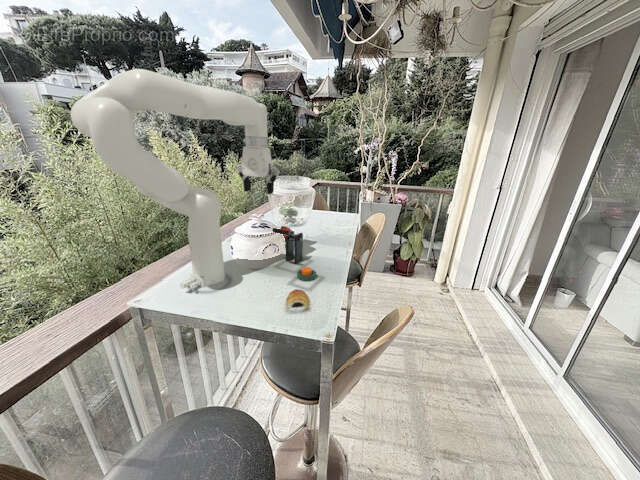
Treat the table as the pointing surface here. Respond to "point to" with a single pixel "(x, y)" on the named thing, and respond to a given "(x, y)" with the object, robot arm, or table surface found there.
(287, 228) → the tomato
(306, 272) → the button
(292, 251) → the bracket
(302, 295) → the pastry
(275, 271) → the table surface
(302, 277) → the button box
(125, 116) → the robot arm
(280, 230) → the lever
